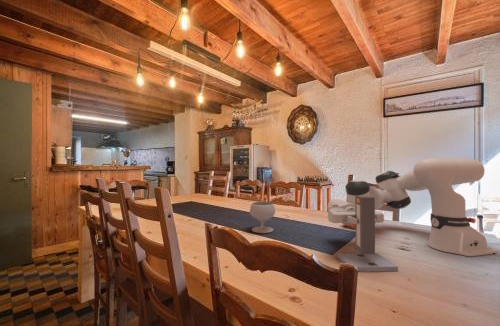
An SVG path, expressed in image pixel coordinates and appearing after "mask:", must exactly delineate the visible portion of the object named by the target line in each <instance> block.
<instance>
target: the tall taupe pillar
mask: <svg viewBox="0 0 500 326" xmlns="http://www.w3.org/2000/svg"><path fill="white" fill-rule="evenodd" d="M375 211H376V210H375V197H371V196H355V218H358V219H359V224H355V229H354V231H355V232H354V233H355V249H356V251H357V252H359V253H362V254H375V253H376V249H375V248H376V224H375Z"/></svg>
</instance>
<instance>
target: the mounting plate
mask: <svg viewBox="0 0 500 326" xmlns="http://www.w3.org/2000/svg"><path fill="white" fill-rule="evenodd" d="M336 258H337V259H338V260H339V261H340V260H341V261H340V262H341V263H342V264H343V263H348V264H353V265H355V266H356V267H357V269H358V271H359V272H360V273H361V272H365V273H366V272H399V266H398V265H396V264H395V263H393V262H392V261H390V260H389V259H387V258H385V257H384V256H383V255H381V254H380V253H378V252H375V254H362V253H360V252H359V253H358V252H357V253H355V252H354V253H351V252H350V253H347V252H346V253H336ZM359 272H358V273H359Z"/></svg>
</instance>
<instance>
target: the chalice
mask: <svg viewBox="0 0 500 326" xmlns="http://www.w3.org/2000/svg"><path fill="white" fill-rule="evenodd" d="M249 213H250V216H251V217H253V218H254V219H256V220H258V221H259V222H260V226H255V227H253V228H251V232H253V233H258V234H267V233H272V232H274V228H273V227H270V226H265V222H266V221H267V220H270V219H271V218H273V217H274V216H275V214H276V209H275V205H274V203H273V202H271V201H270V202H269V201H255V202H252V203H251V205H250V208H249Z"/></svg>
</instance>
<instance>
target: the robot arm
mask: <svg viewBox="0 0 500 326" xmlns="http://www.w3.org/2000/svg"><path fill="white" fill-rule="evenodd" d="M399 174H400V173H399V172H395V171H393V170H385V171H382V172H380V173H379V174H377V175H376V177H375V179H374V180H375V182H376V184H377V185H378V188H377V187H376V186H375V184H373V183H370V182H367V181H364V180H362V179H353V180H350V181H349V182H347V184H346V185H345V192H346V201H345V200H342V199H337V198H335V199H331V200H330V201H329V202H328V203H327V220H328V222H330V223H333V224H342V225H344V223H345V224H348V225H353V224H359V219H358V218H355V196H371V197H375V225H376V224H380V223H381V224H383V223H384V221H385V216H384V213H382V212H380V211H376V210H379V209H380V208H382V207H383V206H384V205H385V204H386V205H385V206H386V207H389V208H391V209H394V210H402V209H406V208H407V207H408V206H409V205H410V204H411V203H412V199H411V197H410V195H408V192H407V191H409V192H420V191H424V190H425V191H426V190H428V193H429V196H430V200H431V201H430V203H431V212H430V224H431V226H430V227H431V228H430V232H429V233H430V234H429V238H428V242H427V246H429V247H430V248H432V249H435V250H438V251H442V252H446V253H451V254H456V255H462V256H466V257H476V256H477V257H478V256H484V255H493V253H495V254H496V253H497V251H496V250H495V249H494V248H491V247H488V241H487V238H486V237H485V235H483V234H482V233H480V231H478V230H477V229H475V228H473V227H472V226H471V224H470V223H472V224H475V223H476V222H477V220H476V218H474V217H467V216H466V199H465V197H464V196H463V195H461V194H460V193H458V192H456V191H455V190H454V188H453V186H457V185H461V184H462V185H463V184H469V183H475V182H478V181H481V179H483V177H484V176H485V167H484V165H483V163H482V162H481V161H480V160H477V159H472V158H467V157H429V158H424V159H420V160H418V161H417V162H416V163H415V164H414V166H413V169H412V170H411V171H408V172H406V173H404V175H401V176H400V175H399Z"/></svg>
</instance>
